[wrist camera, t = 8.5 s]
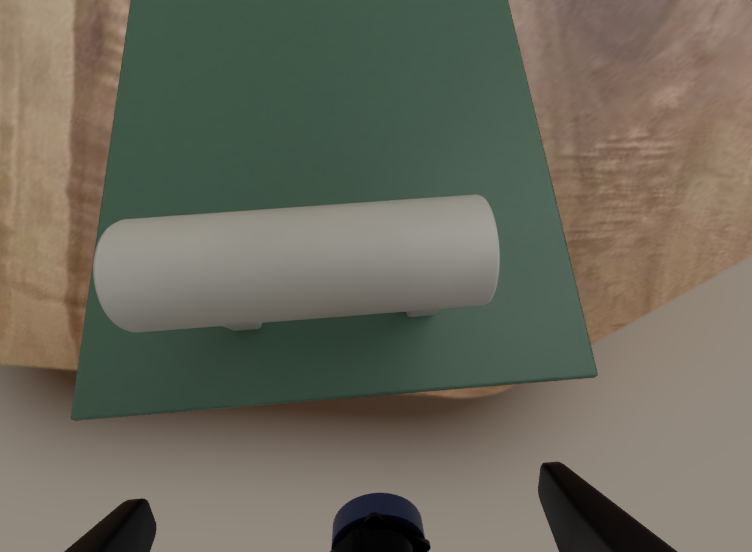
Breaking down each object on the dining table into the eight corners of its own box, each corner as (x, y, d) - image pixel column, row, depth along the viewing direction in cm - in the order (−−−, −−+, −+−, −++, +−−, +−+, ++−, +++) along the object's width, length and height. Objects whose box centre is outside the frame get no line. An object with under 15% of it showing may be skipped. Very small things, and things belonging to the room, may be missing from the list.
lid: (583, 377, 9) (823, 371, 4) (91, 418, 8) (-259, 462, 4) (496, -2, 12) (572, -244, 7) (143, 18, 12) (-8, -220, 7)
